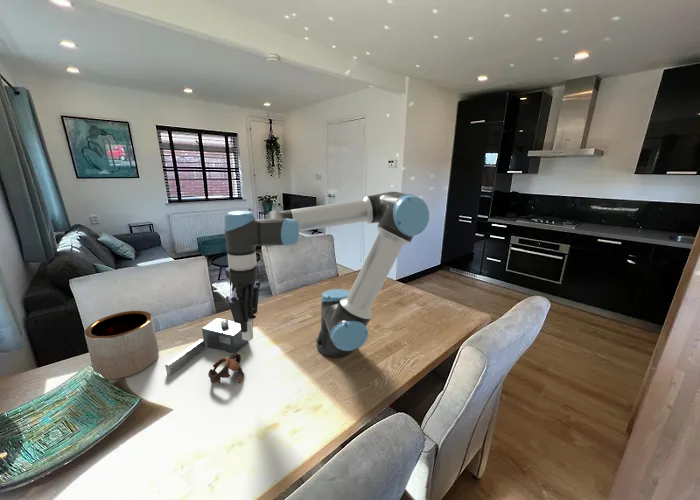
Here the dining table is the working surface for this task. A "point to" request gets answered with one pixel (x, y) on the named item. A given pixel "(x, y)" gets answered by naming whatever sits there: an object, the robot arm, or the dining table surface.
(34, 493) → the dining table surface
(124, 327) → the planter
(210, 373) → the brown curved piece
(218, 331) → the motor bracket
